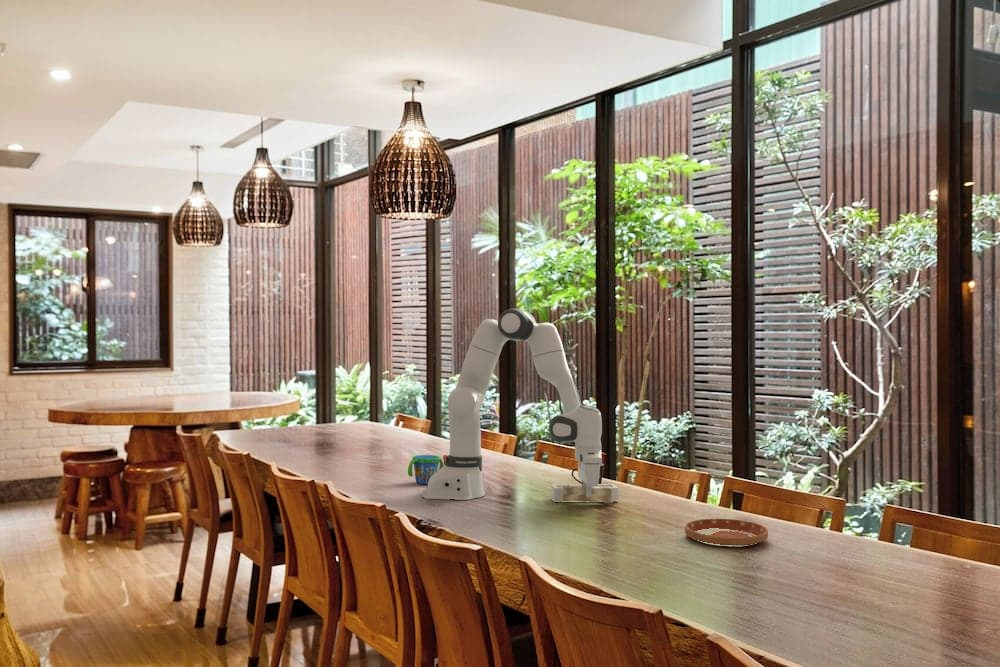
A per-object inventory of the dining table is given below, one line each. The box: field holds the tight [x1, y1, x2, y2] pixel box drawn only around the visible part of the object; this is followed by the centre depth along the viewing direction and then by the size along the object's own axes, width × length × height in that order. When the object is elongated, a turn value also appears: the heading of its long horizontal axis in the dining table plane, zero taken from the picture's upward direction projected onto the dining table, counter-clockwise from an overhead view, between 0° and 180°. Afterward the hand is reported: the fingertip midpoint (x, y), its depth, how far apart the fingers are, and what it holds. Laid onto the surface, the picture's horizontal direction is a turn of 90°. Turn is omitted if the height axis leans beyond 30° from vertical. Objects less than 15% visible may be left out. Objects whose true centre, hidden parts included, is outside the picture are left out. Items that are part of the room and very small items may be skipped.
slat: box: [563, 485, 612, 503], centre depth 286 cm, size 16×3×4 cm, turn 94°
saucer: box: [684, 518, 769, 545], centre depth 242 cm, size 23×23×4 cm
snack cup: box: [407, 454, 444, 486], centre depth 323 cm, size 16×10×10 cm
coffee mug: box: [571, 462, 605, 486], centre depth 311 cm, size 12×9×10 cm
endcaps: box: [551, 483, 619, 503], centre depth 294 cm, size 22×7×5 cm, turn 94°
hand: (587, 495), depth 286 cm, fingers closed on slat, 3 cm apart
